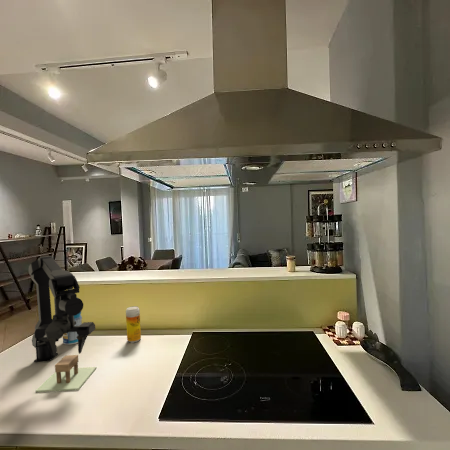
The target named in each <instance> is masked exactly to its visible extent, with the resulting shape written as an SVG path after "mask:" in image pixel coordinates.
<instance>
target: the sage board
mask: <svg viewBox="0 0 450 450" xmlns="http://www.w3.org/2000/svg"><path fill="white" fill-rule="evenodd" d="M96 370H97V367H96V366H89V367H88V366H87V367H78V374H74V367H73V368H72V369H71V370H70V380H71V381H70V382H69V383H66V375H65V372H61V383H58V384H57V376H56V372H55V371H54V372H53V374H52V375H51V376H49V378H47V379H46V380H45V381H44V382H43V383H42V384H40V386H39V387H38V388H37V389H35V393H47V392H68V391H69V392H70V391H79V390H80V389H81V388H82V387H83V386H84V384H85V383H86V382H87V381H88V379H90V377H91V376H92V374H94V372H95V371H96Z"/></svg>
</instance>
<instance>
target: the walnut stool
mask: <svg viewBox="0 0 450 450" xmlns="http://www.w3.org/2000/svg"><path fill="white" fill-rule="evenodd" d="M78 363H79V354H70V355H69V354H68V355H67V354H66V355H65V356H63V357H62V358H61V359H60V360H59V361H58V362H56V364H54V370H55V371H54V373H55V372H56V376H57V384H58V383H61V372H65V375H66V383H69V382H70V381H71V380H70V370H71V369H72V368H74V374H78V368H79V364H78Z"/></svg>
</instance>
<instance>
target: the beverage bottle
mask: <svg viewBox="0 0 450 450" xmlns="http://www.w3.org/2000/svg"><path fill="white" fill-rule="evenodd" d="M81 314H82V311H81V312H80V313H79V314H77V315H74V321H76V324H75V325H74V326H80V325H81V324H82V323H83V322H82V321H83V320H82V319H83V317H82V315H81ZM77 336H78V334H77V332H68V333H64V334H63V336H62V343H63V345H66V346H71V345H76V344H78V339H77Z"/></svg>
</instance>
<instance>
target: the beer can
mask: <svg viewBox="0 0 450 450" xmlns="http://www.w3.org/2000/svg"><path fill="white" fill-rule="evenodd" d="M140 314H141V313H140V308H139V306H129V307H127V308H126V309H125V322H126V323H125V324H126V326H125V327H126V339H127V341H128V342H129V343H132V344H133V343H137V342H139V341H140V340H141V339H142V331H141V329H142V328H141V315H140Z"/></svg>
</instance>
